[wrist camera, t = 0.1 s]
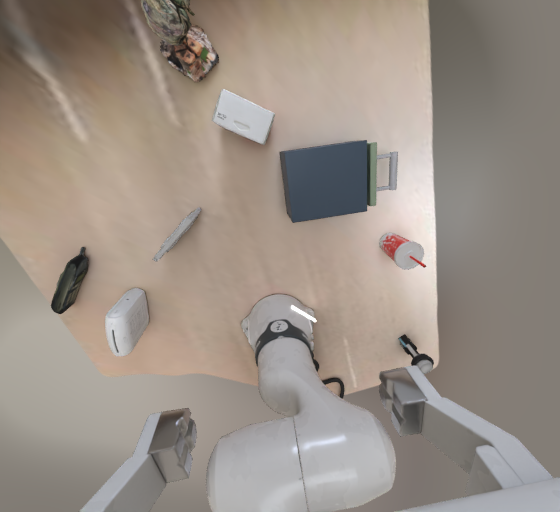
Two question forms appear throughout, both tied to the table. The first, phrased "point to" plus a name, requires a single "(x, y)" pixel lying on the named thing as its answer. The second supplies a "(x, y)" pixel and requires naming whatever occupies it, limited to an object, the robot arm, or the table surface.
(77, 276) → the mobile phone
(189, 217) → the cassette
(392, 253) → the beverage cup
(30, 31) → the table surface
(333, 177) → the cabinet
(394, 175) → the drawer
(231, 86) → the table surface
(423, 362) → the push button
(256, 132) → the ink box
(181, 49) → the plant with pod
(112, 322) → the photo printer
